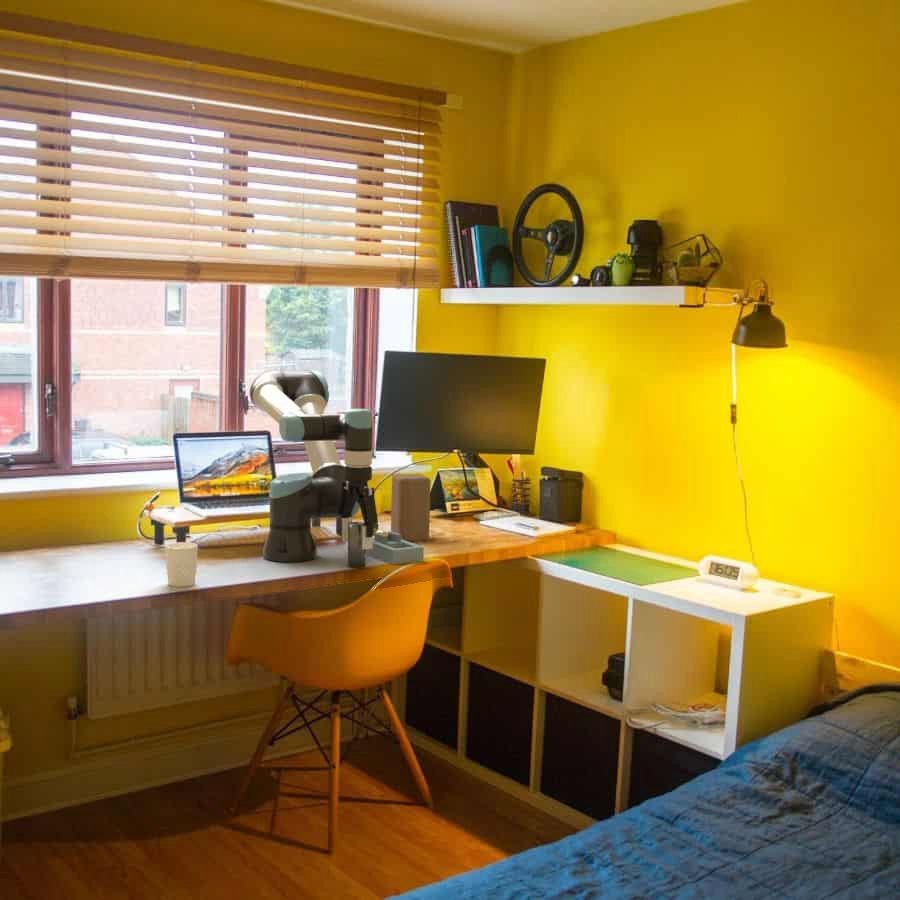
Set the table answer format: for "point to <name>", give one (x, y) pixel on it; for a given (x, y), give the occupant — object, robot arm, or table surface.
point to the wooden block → (410, 506)
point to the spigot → (356, 545)
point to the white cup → (181, 563)
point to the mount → (395, 549)
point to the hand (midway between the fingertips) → (357, 544)
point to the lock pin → (379, 531)
